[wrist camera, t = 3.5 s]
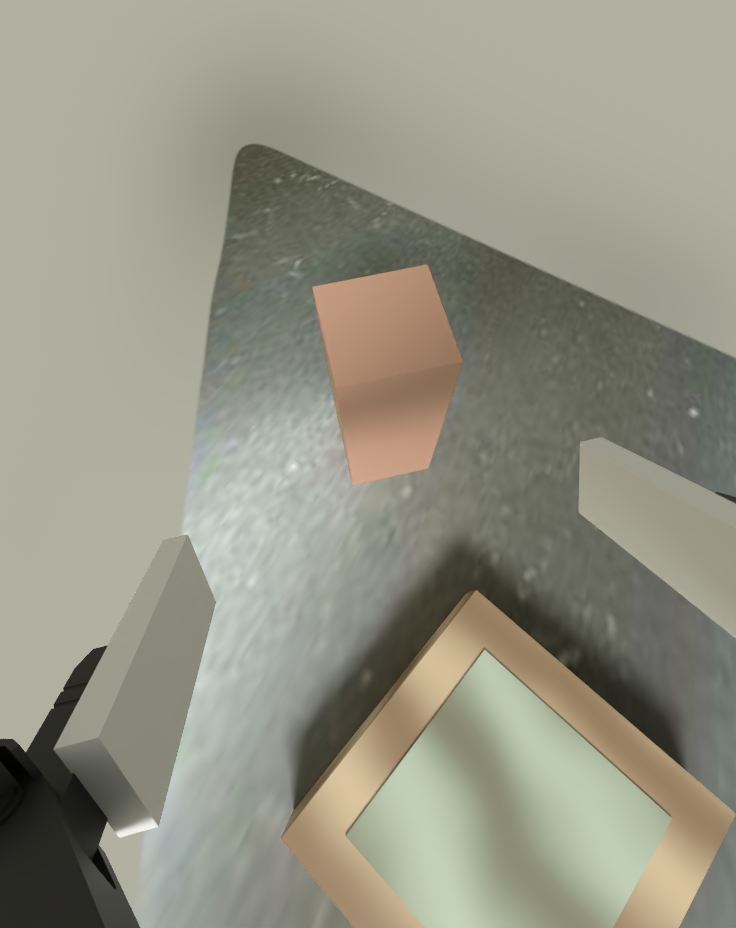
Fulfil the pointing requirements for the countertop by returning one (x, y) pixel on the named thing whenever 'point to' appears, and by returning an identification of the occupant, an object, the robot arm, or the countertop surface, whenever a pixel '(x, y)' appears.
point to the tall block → (388, 368)
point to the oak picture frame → (503, 799)
